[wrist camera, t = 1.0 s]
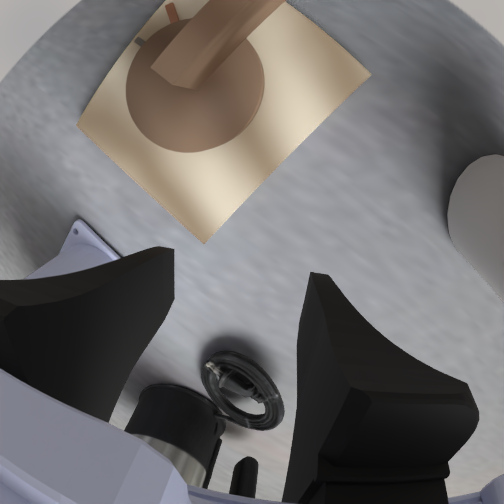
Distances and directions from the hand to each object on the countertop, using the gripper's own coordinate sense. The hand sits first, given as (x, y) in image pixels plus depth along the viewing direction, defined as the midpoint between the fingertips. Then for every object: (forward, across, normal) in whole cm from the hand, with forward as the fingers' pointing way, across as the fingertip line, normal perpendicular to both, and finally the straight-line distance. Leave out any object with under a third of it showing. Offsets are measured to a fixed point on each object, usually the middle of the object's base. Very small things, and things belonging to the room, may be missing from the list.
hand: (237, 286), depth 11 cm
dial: (+8, +4, -8) cm, 12 cm away
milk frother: (+10, +4, +18) cm, 21 cm away
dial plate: (+9, +4, -7) cm, 12 cm away
